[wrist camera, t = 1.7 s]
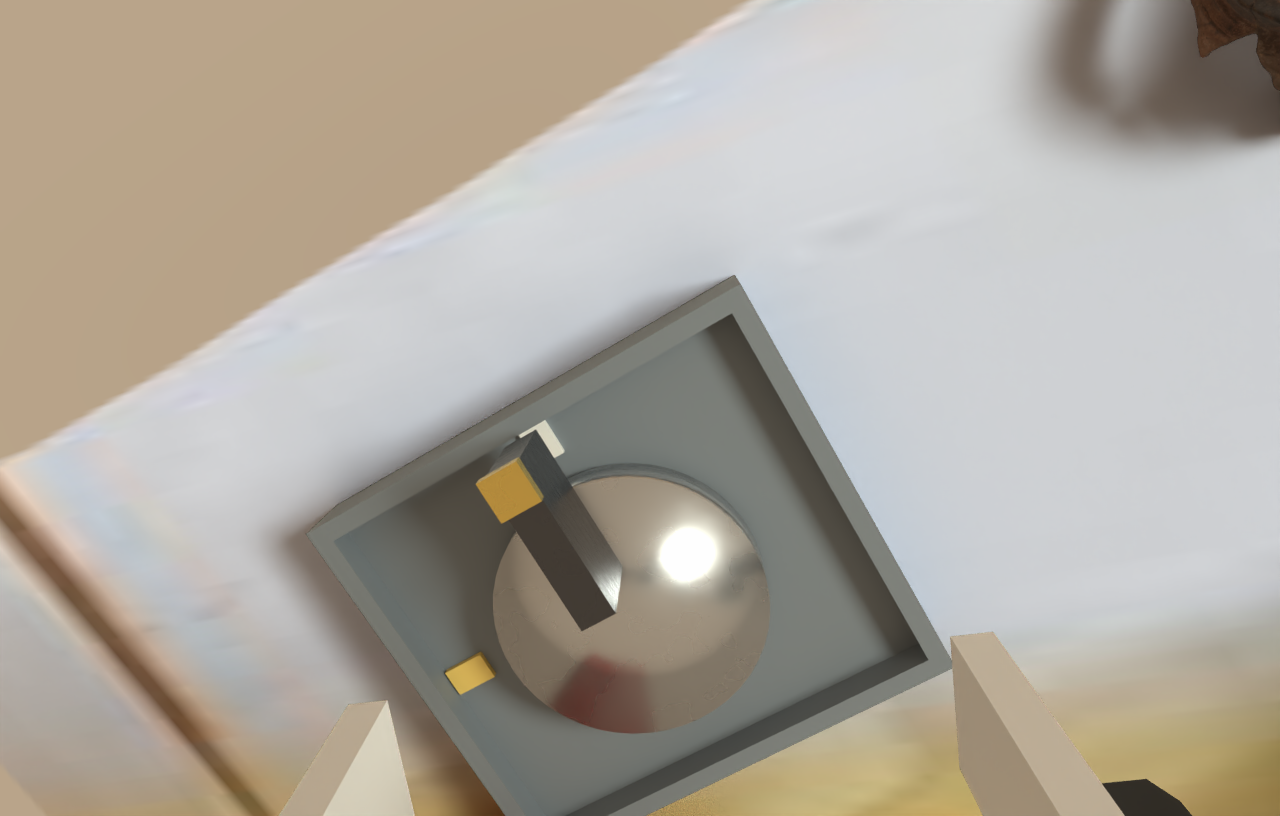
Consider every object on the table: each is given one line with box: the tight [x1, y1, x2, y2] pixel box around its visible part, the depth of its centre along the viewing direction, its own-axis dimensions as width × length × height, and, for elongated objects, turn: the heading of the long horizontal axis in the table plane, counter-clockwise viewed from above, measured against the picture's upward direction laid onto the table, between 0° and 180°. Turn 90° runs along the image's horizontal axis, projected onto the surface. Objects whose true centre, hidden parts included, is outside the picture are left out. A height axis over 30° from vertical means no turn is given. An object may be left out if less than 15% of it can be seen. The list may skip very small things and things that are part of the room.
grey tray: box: [306, 275, 952, 816], centre depth 38 cm, size 18×20×3 cm
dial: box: [476, 430, 770, 734], centre depth 34 cm, size 14×11×6 cm
